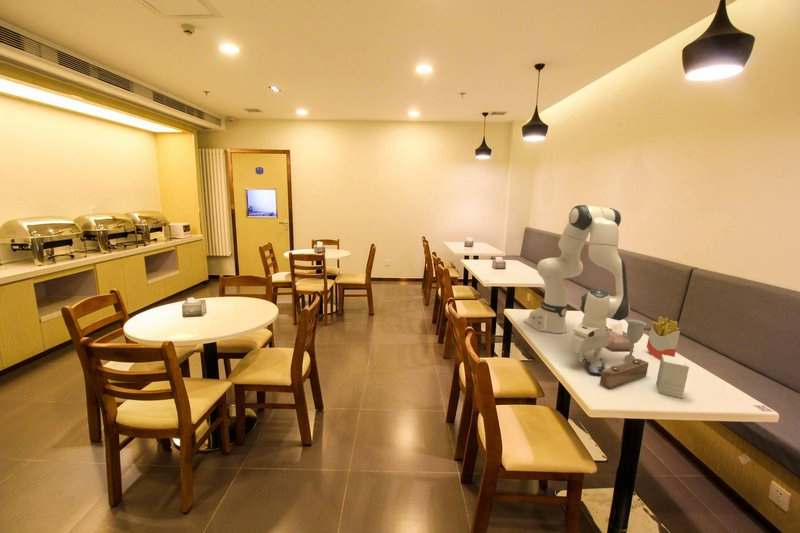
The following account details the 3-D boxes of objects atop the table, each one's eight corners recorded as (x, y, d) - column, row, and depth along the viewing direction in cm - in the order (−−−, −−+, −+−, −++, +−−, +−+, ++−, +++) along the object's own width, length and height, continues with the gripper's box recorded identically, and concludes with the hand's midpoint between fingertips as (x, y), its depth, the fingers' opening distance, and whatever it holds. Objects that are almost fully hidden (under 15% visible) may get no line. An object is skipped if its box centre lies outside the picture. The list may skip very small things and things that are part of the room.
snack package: (612, 369, 148) (581, 360, 154) (615, 356, 146) (584, 348, 152) (609, 386, 139) (577, 375, 145) (612, 372, 137) (579, 362, 143)
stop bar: (599, 384, 135) (602, 368, 134) (635, 371, 146) (638, 356, 145) (609, 389, 132) (612, 372, 130) (646, 376, 143) (649, 360, 141)
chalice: (641, 365, 152) (649, 326, 148) (624, 363, 153) (631, 324, 149) (634, 358, 159) (641, 320, 155) (617, 356, 160) (624, 318, 156)
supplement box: (679, 389, 134) (686, 358, 131) (682, 399, 127) (689, 366, 125) (655, 383, 137) (661, 353, 135) (657, 392, 131) (664, 361, 128)
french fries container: (663, 362, 156) (671, 323, 152) (644, 351, 166) (652, 315, 163) (673, 362, 156) (681, 324, 153) (654, 351, 167) (661, 315, 163)
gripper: (601, 322, 156) (596, 351, 159) (570, 329, 147) (566, 360, 150) (615, 327, 151) (610, 357, 154) (584, 334, 141) (579, 366, 144)
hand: (588, 358), depth 152 cm, fingers open, 8 cm apart
